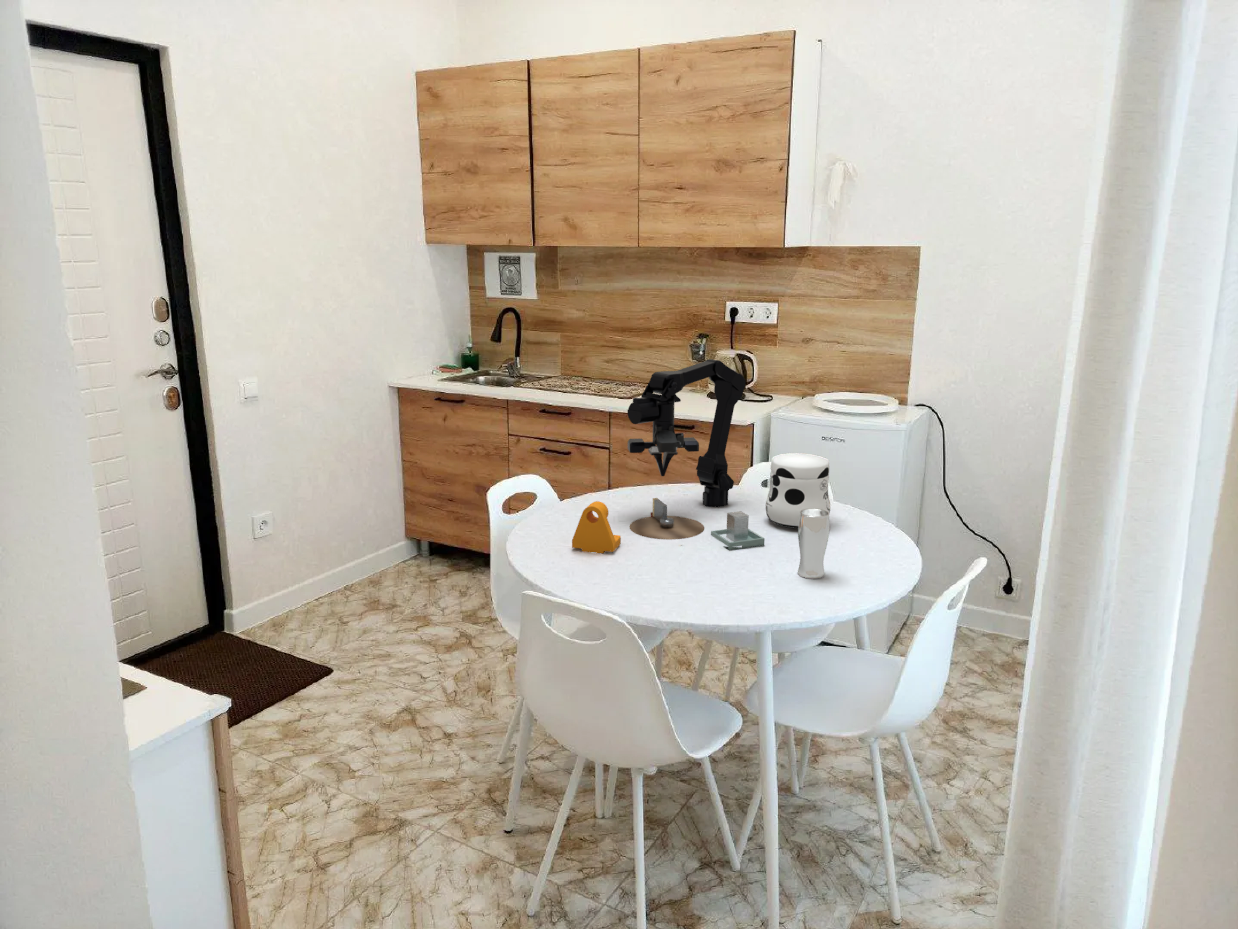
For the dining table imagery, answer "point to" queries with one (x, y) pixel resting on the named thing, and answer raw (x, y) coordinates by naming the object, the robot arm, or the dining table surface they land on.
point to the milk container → (797, 487)
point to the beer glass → (812, 542)
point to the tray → (752, 541)
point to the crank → (661, 513)
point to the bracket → (595, 531)
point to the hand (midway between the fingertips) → (662, 475)
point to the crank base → (667, 528)
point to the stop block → (737, 526)
